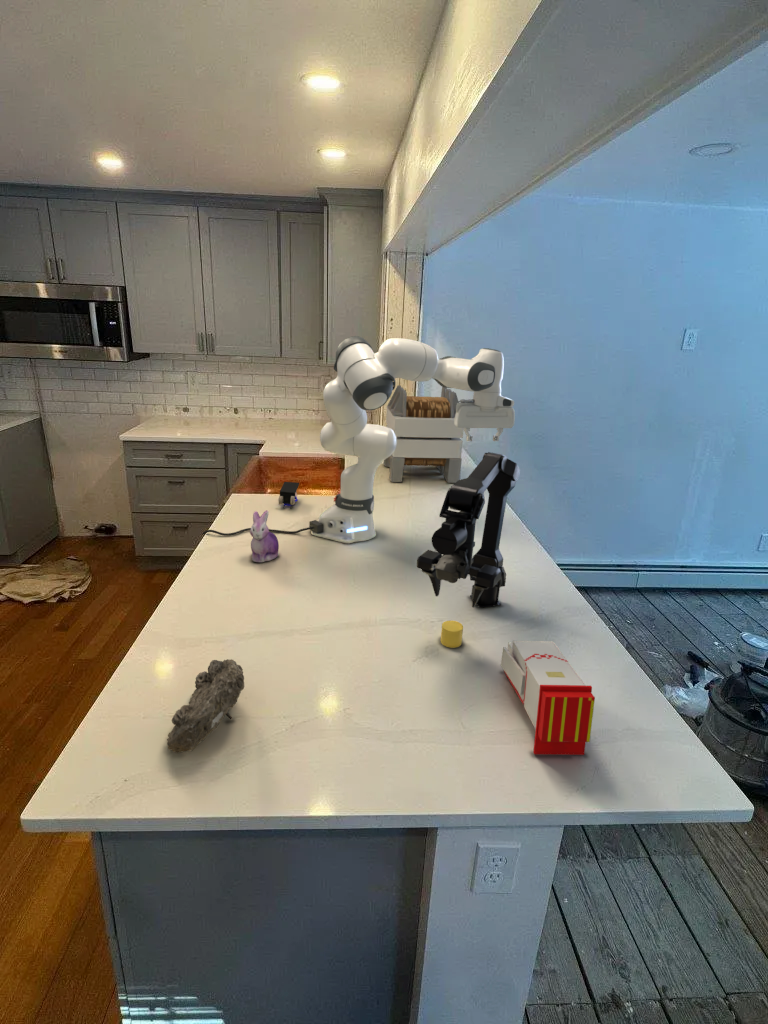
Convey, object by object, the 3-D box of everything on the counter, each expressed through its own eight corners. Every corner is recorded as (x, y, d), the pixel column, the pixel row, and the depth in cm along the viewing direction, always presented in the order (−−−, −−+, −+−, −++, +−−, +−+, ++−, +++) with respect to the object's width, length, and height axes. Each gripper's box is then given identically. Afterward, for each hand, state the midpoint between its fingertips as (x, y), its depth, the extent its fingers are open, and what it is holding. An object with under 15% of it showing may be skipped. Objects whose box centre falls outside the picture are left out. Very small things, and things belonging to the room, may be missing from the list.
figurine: (254, 565, 170) (252, 519, 165) (245, 552, 179) (243, 508, 174) (284, 560, 175) (283, 515, 169) (274, 548, 183) (273, 504, 178)
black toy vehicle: (295, 514, 218) (300, 497, 231) (295, 496, 214) (299, 480, 228) (278, 513, 217) (283, 497, 231) (277, 495, 214) (283, 480, 227)
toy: (549, 624, 127) (604, 693, 98) (544, 678, 130) (596, 762, 100) (496, 622, 127) (535, 692, 97) (491, 677, 129) (528, 761, 100)
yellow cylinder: (465, 641, 137) (466, 625, 135) (455, 650, 133) (456, 633, 131) (446, 633, 139) (448, 618, 138) (436, 642, 136) (438, 626, 134)
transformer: (382, 463, 289) (386, 382, 275) (445, 464, 293) (451, 384, 279) (390, 482, 257) (394, 392, 243) (460, 483, 261) (468, 394, 247)
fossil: (192, 660, 117) (244, 628, 112) (224, 691, 120) (276, 661, 115) (142, 746, 98) (202, 712, 93) (182, 779, 101) (242, 748, 96)
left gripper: (459, 400, 181) (455, 443, 186) (519, 401, 185) (513, 443, 190) (453, 397, 187) (450, 438, 192) (511, 398, 191) (506, 438, 196)
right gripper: (407, 541, 125) (403, 604, 130) (488, 561, 116) (480, 628, 122) (429, 526, 134) (424, 585, 139) (505, 544, 126) (497, 606, 131)
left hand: (482, 440), depth 191 cm, fingers open, 8 cm apart
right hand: (455, 601), depth 132 cm, fingers open, 9 cm apart
